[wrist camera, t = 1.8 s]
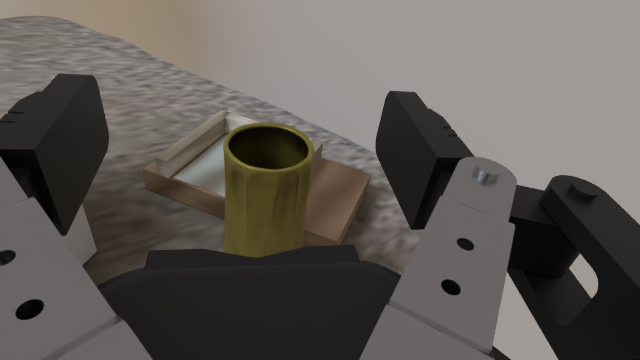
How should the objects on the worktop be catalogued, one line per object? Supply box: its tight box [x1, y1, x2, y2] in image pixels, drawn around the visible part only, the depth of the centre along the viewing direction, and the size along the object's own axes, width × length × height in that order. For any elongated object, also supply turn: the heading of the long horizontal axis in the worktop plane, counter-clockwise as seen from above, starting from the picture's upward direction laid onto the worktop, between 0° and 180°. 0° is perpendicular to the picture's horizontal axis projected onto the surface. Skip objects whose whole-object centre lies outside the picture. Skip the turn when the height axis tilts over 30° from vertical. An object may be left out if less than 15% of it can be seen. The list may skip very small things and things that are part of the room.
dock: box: [142, 110, 371, 247], centre depth 40 cm, size 20×11×4 cm, turn 68°
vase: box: [223, 122, 315, 257], centre depth 27 cm, size 6×6×14 cm
